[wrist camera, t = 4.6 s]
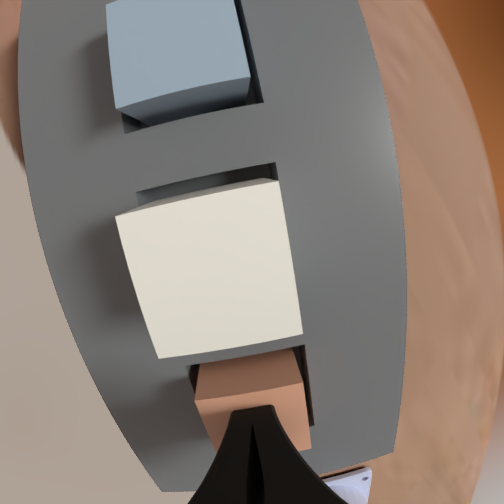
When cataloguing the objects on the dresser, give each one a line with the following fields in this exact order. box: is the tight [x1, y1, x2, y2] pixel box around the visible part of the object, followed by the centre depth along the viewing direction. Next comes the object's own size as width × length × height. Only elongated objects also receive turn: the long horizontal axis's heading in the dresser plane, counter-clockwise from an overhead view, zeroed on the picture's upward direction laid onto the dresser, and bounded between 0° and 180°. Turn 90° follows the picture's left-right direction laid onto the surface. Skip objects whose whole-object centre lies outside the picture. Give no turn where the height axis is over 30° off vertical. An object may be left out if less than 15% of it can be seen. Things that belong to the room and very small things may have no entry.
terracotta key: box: [194, 347, 312, 454], centre depth 11 cm, size 3×3×4 cm
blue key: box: [106, 0, 251, 126], centre depth 8 cm, size 3×3×4 cm
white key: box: [115, 178, 303, 359], centre depth 8 cm, size 3×3×4 cm
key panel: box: [18, 0, 407, 492], centre depth 11 cm, size 24×12×3 cm, turn 11°
